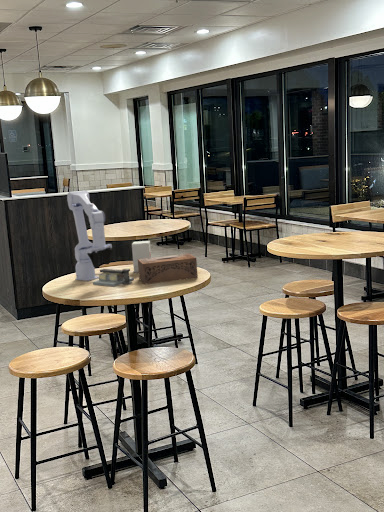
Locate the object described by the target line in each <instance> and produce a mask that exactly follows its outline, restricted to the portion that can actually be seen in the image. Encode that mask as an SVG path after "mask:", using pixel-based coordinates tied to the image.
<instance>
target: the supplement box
mask: <svg viewBox="0 0 384 512" xmlns="http://www.w3.org/2000/svg"><path fill="white" fill-rule="evenodd" d="M131 251H132V264H133V273H139V269H138V259H144V258H152V252H151V251H152V250H151V240H142V241H141V240H139V241H133V242H132V243H131Z"/></svg>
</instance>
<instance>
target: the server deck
mask: <svg viewBox="0 0 384 512" xmlns="http://www.w3.org/2000/svg"><path fill="white" fill-rule="evenodd" d="M133 281H135V278H134V277H131V276H130V271H129V272H124V280H122V281H119V282H113V281H110V280H108V281H102V280H99V279H97V280H95V281H93V282H92V285H95V286H105V287H106V286H107V287H116V286H121V285H124V286H125V285H126V286H127V285H131V284H133Z"/></svg>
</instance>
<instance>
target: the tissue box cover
mask: <svg viewBox="0 0 384 512" xmlns="http://www.w3.org/2000/svg"><path fill="white" fill-rule="evenodd" d="M138 269H139V272H138V279H139V280H140V281H141V282H142V284H144V285H150V284H157V283H160V284H161V283H166V282H167V283H168V282H173V281H175V282H176V281H182V280H183V281H184V279H185V280H191V279H192V280H193V279H198V278H199V277H198V262H197V257H196V256H194V255H192V254H191V253H183V254H182V253H181V254H173V255H163V256H155V257H151V258H144V259H138Z"/></svg>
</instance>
